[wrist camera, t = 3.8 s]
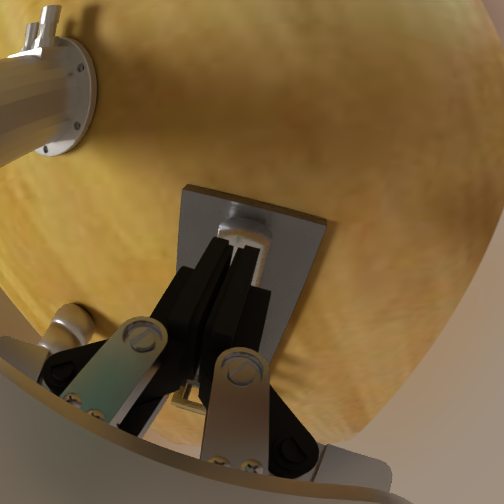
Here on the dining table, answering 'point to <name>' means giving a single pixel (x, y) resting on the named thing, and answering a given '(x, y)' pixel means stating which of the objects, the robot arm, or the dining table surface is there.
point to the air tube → (247, 240)
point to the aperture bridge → (186, 402)
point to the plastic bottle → (68, 329)
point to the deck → (279, 256)
